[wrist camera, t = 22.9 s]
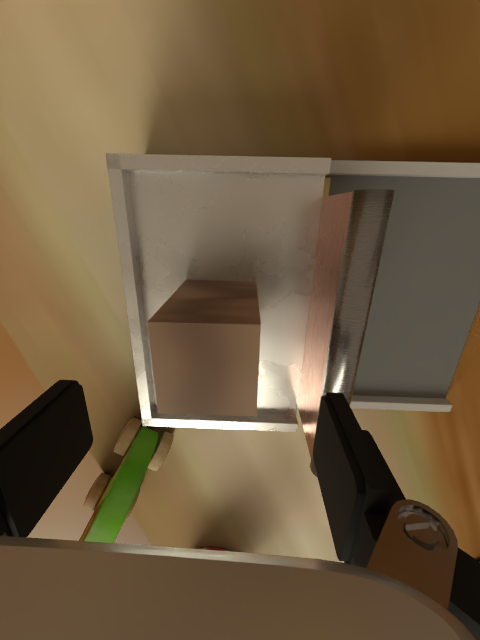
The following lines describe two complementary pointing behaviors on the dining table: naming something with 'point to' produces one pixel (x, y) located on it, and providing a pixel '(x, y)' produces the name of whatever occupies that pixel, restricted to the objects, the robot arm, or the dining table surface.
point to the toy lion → (124, 480)
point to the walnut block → (207, 349)
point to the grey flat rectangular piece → (417, 280)
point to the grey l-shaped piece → (253, 269)
